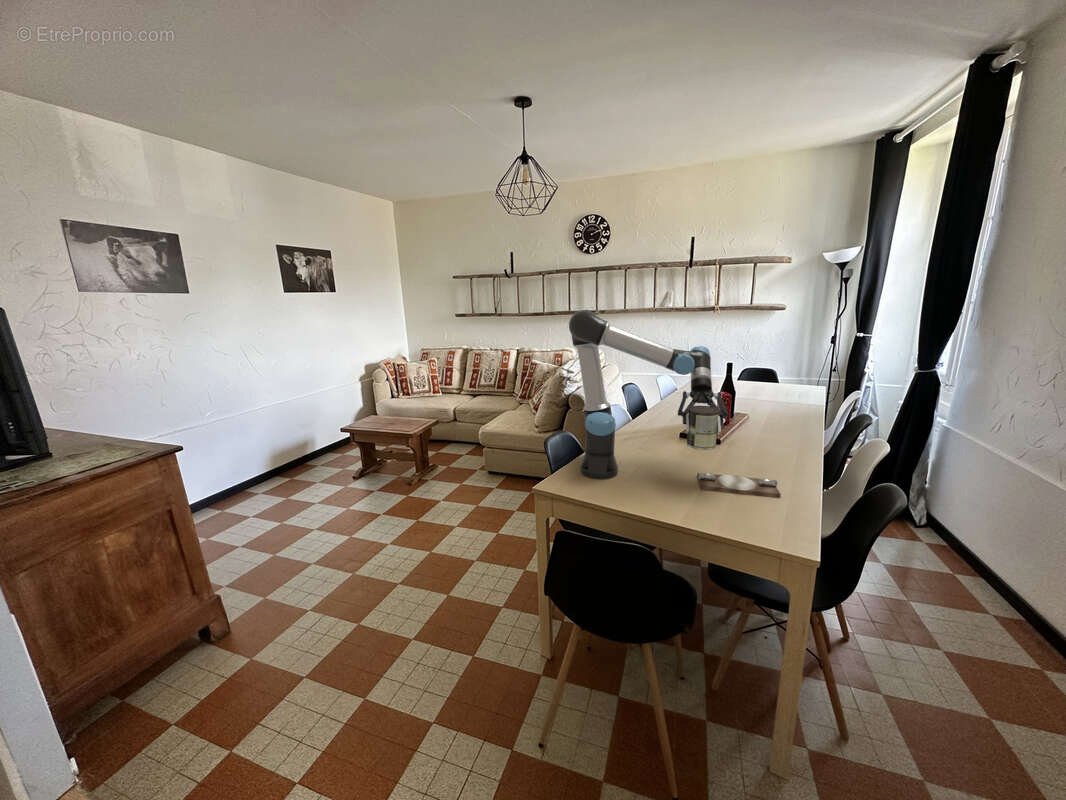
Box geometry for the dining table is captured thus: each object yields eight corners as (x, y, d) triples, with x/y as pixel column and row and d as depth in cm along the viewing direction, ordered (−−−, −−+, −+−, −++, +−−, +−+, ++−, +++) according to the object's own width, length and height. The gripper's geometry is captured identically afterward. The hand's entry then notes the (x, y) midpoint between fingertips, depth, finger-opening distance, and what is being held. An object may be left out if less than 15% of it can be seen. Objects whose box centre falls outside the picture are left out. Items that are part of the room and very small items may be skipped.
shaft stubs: (699, 480, 154) (700, 474, 154) (698, 477, 157) (699, 471, 156) (776, 487, 147) (777, 481, 147) (774, 485, 150) (775, 479, 149)
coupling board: (700, 489, 150) (701, 485, 149) (697, 475, 162) (697, 471, 161) (780, 498, 143) (781, 493, 142) (770, 482, 155) (771, 478, 155)
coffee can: (680, 445, 154) (683, 409, 150) (695, 439, 160) (697, 404, 157) (707, 452, 146) (710, 414, 143) (721, 445, 152) (724, 408, 149)
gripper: (730, 387, 160) (735, 439, 149) (669, 386, 166) (669, 435, 155) (734, 376, 154) (739, 429, 143) (671, 375, 160) (671, 425, 149)
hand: (703, 432), depth 149 cm, fingers closed on coffee can, 10 cm apart
